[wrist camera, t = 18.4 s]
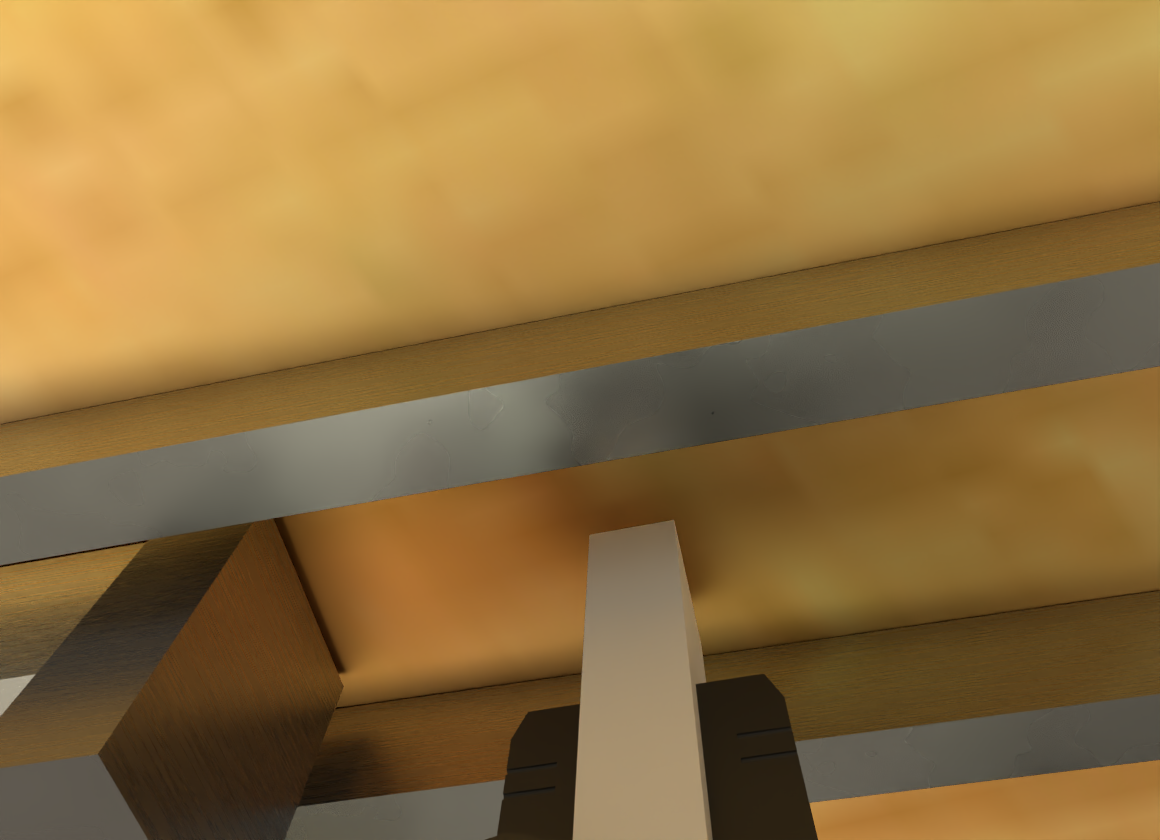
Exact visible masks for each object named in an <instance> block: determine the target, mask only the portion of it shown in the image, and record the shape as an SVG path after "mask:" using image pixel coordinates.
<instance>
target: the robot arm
mask: <svg viewBox="0 0 1160 840" xmlns="http://www.w3.org/2000/svg"><path fill="white" fill-rule="evenodd" d="M503 796H504V800H502V804H501V811H500V818H499V824H498V831H497V836H495V837H492V838H488V839H485V840H818V838H817V834H816V830H815V825H814V821H813V817H812V813H811V808H810V804H809V800H808V796H807V791H806V787H805V783H804V778H803V774H802V770H801V766H800V761H799V757H798V753H797V749H796V744H795V740H794V736H793V732H792V728H791V723H790V719H789V715H788V710H787V706H786V702H785V697H784V696H783V695H782V694H781V692H780V691H779V690H778V689H777V688H776V687H775V686H774V684H773V683H772V682H771V681H770V680H769V679H768V678H767V677H766V675H765V674H758V675H752V676H745V677H739V678H732V679H725V680H719V681H712V682H706V677H705V669H704V661H703V653H702V645H701V640H700V635H699V631H698V626H697V622H696V617H695V613H694V608H693V604H692V599H691V594H690V590H689V585H688V581H687V576H686V572H685V567H684V563H683V558H682V553H681V549H680V544H679V540H678V535H677V531H676V526H675V522H674V520H670V521H664V522H659V523H653V524H647V525H642V526H636V527H631V528H625V529H619V530H614V531H608V532H602V533H597V534H591V535H589V553H588V571H587V590H586V608H585V626H584V644H583V662H582V680H581V698H580V704H576V705H570V706H563V707H556V708H550V709H543V710H537V711H530V712H528V713H527V714H526V716H525V717H524V719H523V721H522V722H521V724H520V726H519V727H518V729H517V730H516V732H515V734H514V735H513V737H512V739H511V742H510V749H509V756H508V763H507V775H506V776H505V783H504V790H503Z"/></svg>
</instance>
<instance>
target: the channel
mask: <svg viewBox="0 0 1160 840" xmlns="http://www.w3.org/2000/svg"><path fill="white" fill-rule="evenodd" d="M1157 366H1160V202H1155V203H1150V204H1145V205H1140V206H1135V207H1129V208H1124V209H1119V210H1114V211H1109V212H1103V213H1098V214H1093V215H1088V216H1083V217H1077V218H1072V219H1067V220H1062V221H1057V222H1051V223H1046V224H1041V225H1036V226H1031V227H1025V228H1020V229H1015V230H1010V231H1005V232H999V233H994V234H989V235H984V236H979V237H973V238H968V239H963V240H958V241H953V242H947V243H942V244H937V245H932V246H927V247H921V248H916V249H911V250H906V251H901V252H895V253H890V254H885V255H880V256H875V257H869V258H864V259H859V260H854V261H849V262H843V263H838V264H833V265H828V266H823V267H817V268H812V269H807V270H802V271H797V272H791V273H786V274H781V275H776V276H771V277H765V278H760V279H755V280H750V281H745V282H739V283H734V284H729V285H724V286H719V287H713V288H708V289H703V290H698V291H693V292H687V293H682V294H677V295H672V296H667V297H661V298H656V299H651V300H646V301H641V302H635V303H630V304H625V305H620V306H615V307H609V308H604V309H599V310H594V311H589V312H583V313H578V314H573V315H568V316H563V317H557V318H552V319H547V320H542V321H537V322H531V323H526V324H521V325H516V326H511V327H505V328H500V329H495V330H490V331H485V332H479V333H474V334H469V335H464V336H459V337H453V338H448V339H443V340H438V341H433V342H427V343H422V344H417V345H412V346H407V347H401V348H396V349H391V350H386V351H381V352H375V353H370V354H365V355H360V356H355V357H349V358H344V359H339V360H334V361H329V362H323V363H318V364H313V365H308V366H303V367H297V368H292V369H287V370H282V371H277V372H271V373H266V374H261V375H256V376H251V377H245V378H240V379H235V380H230V381H225V382H219V383H214V384H209V385H204V386H199V387H193V388H188V389H183V390H178V391H173V392H167V393H162V394H157V395H152V396H147V397H141V398H136V399H131V400H126V401H121V402H115V403H110V404H105V405H100V406H95V407H89V408H84V409H79V410H74V411H69V412H63V413H58V414H53V415H48V416H43V417H37V418H32V419H27V420H22V421H17V422H11V423H6V424H1V425H0V565H5V564H11V563H16V562H22V561H28V560H34V559H40V558H46V557H51V556H57V555H63V554H69V553H75V552H80V551H86V550H92V549H98V548H104V547H110V546H115V545H121V544H127V543H133V542H139V541H144V540H150V539H156V538H162V537H168V536H174V535H179V534H185V533H191V532H197V531H203V530H209V529H214V528H220V527H226V526H232V525H238V524H243V523H249V522H255V521H261V520H267V519H273V518H278V517H284V516H290V515H296V514H302V513H307V512H313V511H319V510H325V509H331V508H337V507H342V506H348V505H354V504H360V503H366V502H372V501H377V500H383V499H389V498H395V497H401V496H406V495H412V494H418V493H424V492H430V491H436V490H441V489H447V488H453V487H459V486H465V485H470V484H476V483H482V482H488V481H494V480H500V479H505V478H511V477H517V476H523V475H529V474H534V473H540V472H546V471H552V470H558V469H564V468H569V467H575V466H581V465H587V464H593V463H599V462H604V461H610V460H616V459H622V458H628V457H633V456H639V455H645V454H651V453H657V452H663V451H668V450H674V449H680V448H686V447H692V446H697V445H703V444H709V443H715V442H721V441H727V440H732V439H738V438H744V437H750V436H756V435H762V434H767V433H773V432H779V431H785V430H791V429H796V428H802V427H808V426H814V425H820V424H826V423H831V422H837V421H843V420H849V419H855V418H860V417H866V416H872V415H878V414H884V413H890V412H895V411H901V410H907V409H913V408H919V407H925V406H930V405H936V404H942V403H948V402H954V401H959V400H965V399H971V398H977V397H983V396H989V395H994V394H1000V393H1006V392H1012V391H1018V390H1023V389H1029V388H1035V387H1041V386H1047V385H1053V384H1058V383H1064V382H1070V381H1076V380H1082V379H1087V378H1093V377H1099V376H1105V375H1111V374H1117V373H1122V372H1128V371H1134V370H1140V369H1146V368H1152V367H1157ZM703 661H704V669H705V677H706V682H712V681H719V680H725V679H732V678H739V677H745V676H752V675H758V674H765V675H766V677H767V678H768V679H769V680H770V681H771V682H772V683H773V684H774V686H775V687H776V688H777V689H778V690H779V691H780V692H781V694H782V695H783V696H784V697H785V702H786V706H787V710H788V715H789V719H790V723H791V728H792V732H793V736H794V740H795V744H796V749H797V753H798V757H799V761H800V766H801V770H802V774H803V778H804V783H805V787H806V791H807V796H808V800H809V803H811V802H819V801H827V800H836V799H844V798H852V797H860V796H868V795H876V794H884V793H893V792H901V791H909V790H917V789H925V788H933V787H941V786H950V785H958V784H966V783H974V782H982V781H990V780H999V779H1007V778H1015V777H1023V776H1031V775H1039V774H1047V773H1056V772H1064V771H1072V770H1080V769H1088V768H1096V767H1104V766H1113V765H1121V764H1129V763H1137V762H1145V761H1153V760H1160V591H1154V592H1147V593H1140V594H1134V595H1127V596H1120V597H1113V598H1106V599H1099V600H1092V601H1085V602H1078V603H1071V604H1064V605H1057V606H1050V607H1043V608H1036V609H1029V610H1022V611H1015V612H1008V613H1001V614H994V615H987V616H980V617H974V618H967V619H960V620H953V621H946V622H939V623H932V624H925V625H918V626H911V627H904V628H897V629H890V630H883V631H876V632H869V633H862V634H855V635H848V636H841V637H834V638H827V639H821V640H814V641H807V642H800V643H793V644H786V645H779V646H772V647H765V648H758V649H751V650H744V651H737V652H730V653H723V654H716V655H709V656H703ZM581 680H582V674H577V675H570V676H563V677H556V678H549V679H542V680H535V681H528V682H521V683H514V684H508V685H501V686H494V687H487V688H480V689H473V690H466V691H459V692H452V693H445V694H438V695H431V696H424V697H417V698H410V699H403V700H396V701H389V702H382V703H375V704H368V705H361V706H354V707H348V708H341V709H335V710H334V713H333V715H332V718H331V720H330V723H329V726H328V728H327V731H326V733H325V736H324V739H323V741H322V744H321V746H320V749H319V752H318V754H317V757H316V759H315V762H314V765H313V767H312V770H311V772H310V775H309V778H308V780H307V783H306V785H305V788H304V791H303V793H302V796H301V798H300V801H299V804H298V806H297V809H296V811H295V814H294V817H293V819H292V822H291V824H290V827H289V830H288V832H287V835H286V837H285V840H485V839H488V838H492V837H495V836H497V831H498V824H499V818H500V811H501V804H502V800H504V796H503V790H504V783H505V776H506V775H507V763H508V756H509V749H510V742H511V739H512V737H513V735H514V734H515V732H516V730H517V729H518V727H519V726H520V724H521V722H522V721H523V719H524V717H525V716H526V714H527V713H528V712H530V711H537V710H543V709H550V708H556V707H563V706H570V705H576V704H580V698H581Z"/></svg>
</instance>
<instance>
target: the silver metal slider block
mask: <svg viewBox="0 0 1160 840" xmlns="http://www.w3.org/2000/svg"><path fill="white" fill-rule="evenodd" d="M342 689H343V684H342V682H341V679H340V677H339V675H338V672H337V670H336V667H335V665H334V663H333V660H332V658H331V655H330V653H329V650H328V648H327V646H326V643H325V641H324V638H323V636H322V634H321V631H320V629H319V626H318V624H317V622H316V619H315V617H314V614H313V612H312V610H311V607H310V605H309V602H308V600H307V598H306V595H305V593H304V590H303V588H302V586H301V583H300V581H299V578H298V576H297V573H296V571H295V569H294V566H293V564H292V561H291V559H290V557H289V554H288V552H287V549H286V547H285V545H284V542H283V540H282V537H281V535H280V533H279V530H278V528H277V525H276V523H275V521H274V518H273V519H267V520H261V521H255V522H249V523H243V524H238V525H232V526H226V527H220V528H214V529H209V530H203V531H197V532H191V533H185V534H179V535H174V536H168V537H162V538H156V539H150V540H148V541H147V542H146V543H140V544H134V545H128V546H122V547H116V548H111V549H105V550H99V551H93V552H87V553H81V554H76V555H70V556H64V557H58V558H52V559H47V560H41V561H35V562H29V563H23V564H17V565H12V566H6V567H0V840H285V837H286V835H287V832H288V830H289V827H290V824H291V822H292V819H293V817H294V814H295V811H296V809H297V806H298V804H299V801H300V798H301V796H302V793H303V791H304V788H305V785H306V783H307V780H308V778H309V775H310V772H311V770H312V767H313V765H314V762H315V759H316V757H317V754H318V752H319V749H320V746H321V744H322V741H323V739H324V736H325V733H326V731H327V728H328V726H329V723H330V720H331V718H332V715H333V713H334V710H335V707H336V705H337V702H338V700H339V697H340V694H341V692H342Z"/></svg>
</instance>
